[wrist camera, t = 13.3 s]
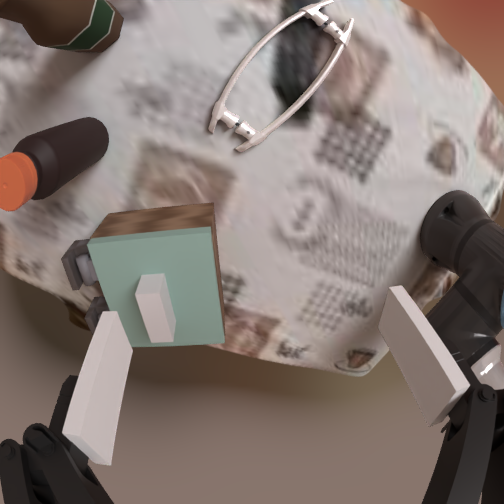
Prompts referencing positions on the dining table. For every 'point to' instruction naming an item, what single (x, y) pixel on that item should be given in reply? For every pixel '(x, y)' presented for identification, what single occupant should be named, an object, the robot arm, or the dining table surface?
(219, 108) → the door handle
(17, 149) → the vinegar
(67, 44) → the beer bottle
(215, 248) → the cabinet
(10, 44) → the dining table surface
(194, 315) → the door
